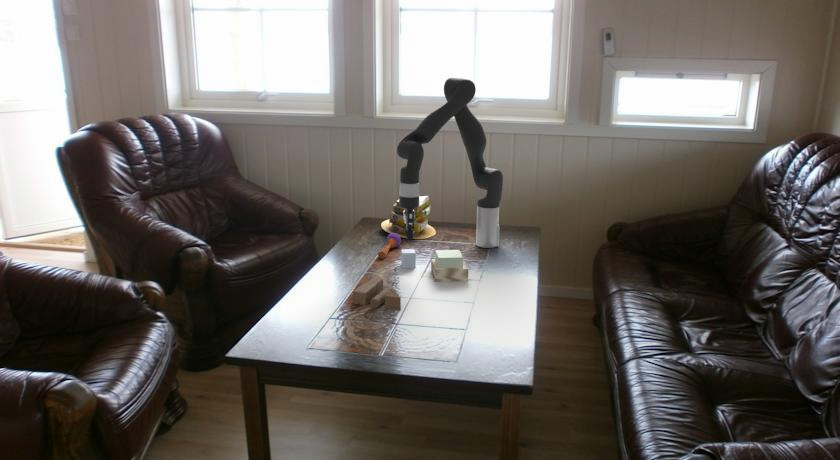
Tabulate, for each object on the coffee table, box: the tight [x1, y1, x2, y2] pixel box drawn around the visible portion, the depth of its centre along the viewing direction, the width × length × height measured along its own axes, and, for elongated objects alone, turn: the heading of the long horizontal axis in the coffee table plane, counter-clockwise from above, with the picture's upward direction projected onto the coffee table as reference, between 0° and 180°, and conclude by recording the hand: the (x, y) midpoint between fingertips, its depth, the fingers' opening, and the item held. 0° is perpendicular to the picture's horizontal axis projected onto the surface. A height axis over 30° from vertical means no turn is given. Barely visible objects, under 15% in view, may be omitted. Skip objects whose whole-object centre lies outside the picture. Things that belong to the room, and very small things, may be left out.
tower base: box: [430, 258, 469, 283], centre depth 243 cm, size 12×12×5 cm
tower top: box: [434, 249, 464, 268], centre depth 242 cm, size 9×9×4 cm
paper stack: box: [380, 195, 437, 240], centre depth 297 cm, size 25×25×17 cm
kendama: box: [377, 233, 402, 260], centre depth 270 cm, size 6×6×20 cm
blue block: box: [400, 248, 417, 269], centre depth 253 cm, size 5×5×6 cm
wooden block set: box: [352, 275, 402, 312], centre depth 220 cm, size 17×6×18 cm
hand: (408, 236), depth 250 cm, fingers open, 8 cm apart
